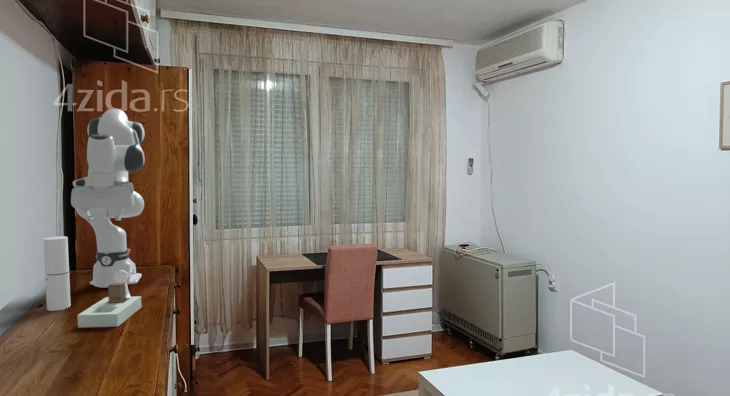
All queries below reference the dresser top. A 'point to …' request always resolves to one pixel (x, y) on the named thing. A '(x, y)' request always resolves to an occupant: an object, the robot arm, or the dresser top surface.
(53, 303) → the cylindrical container
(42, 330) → the dresser top surface
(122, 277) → the sitting furry creature
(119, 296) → the wood grain block
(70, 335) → the dresser top surface
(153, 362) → the dresser top surface
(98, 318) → the socket board
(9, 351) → the dresser top surface
